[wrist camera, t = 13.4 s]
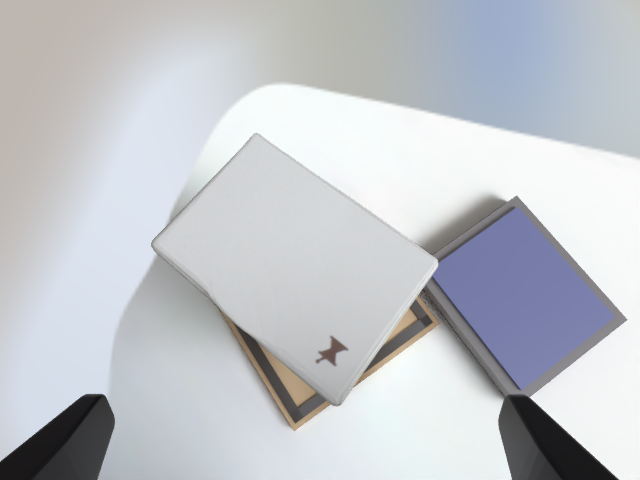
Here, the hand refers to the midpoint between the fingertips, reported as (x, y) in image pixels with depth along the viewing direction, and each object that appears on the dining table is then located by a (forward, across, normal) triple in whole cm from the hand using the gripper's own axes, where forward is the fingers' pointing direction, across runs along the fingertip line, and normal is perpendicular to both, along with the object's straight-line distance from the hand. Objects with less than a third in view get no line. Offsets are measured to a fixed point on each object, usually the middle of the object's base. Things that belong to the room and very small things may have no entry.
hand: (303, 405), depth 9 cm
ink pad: (+11, -10, +6) cm, 16 cm away
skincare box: (+11, 0, +6) cm, 12 cm away
